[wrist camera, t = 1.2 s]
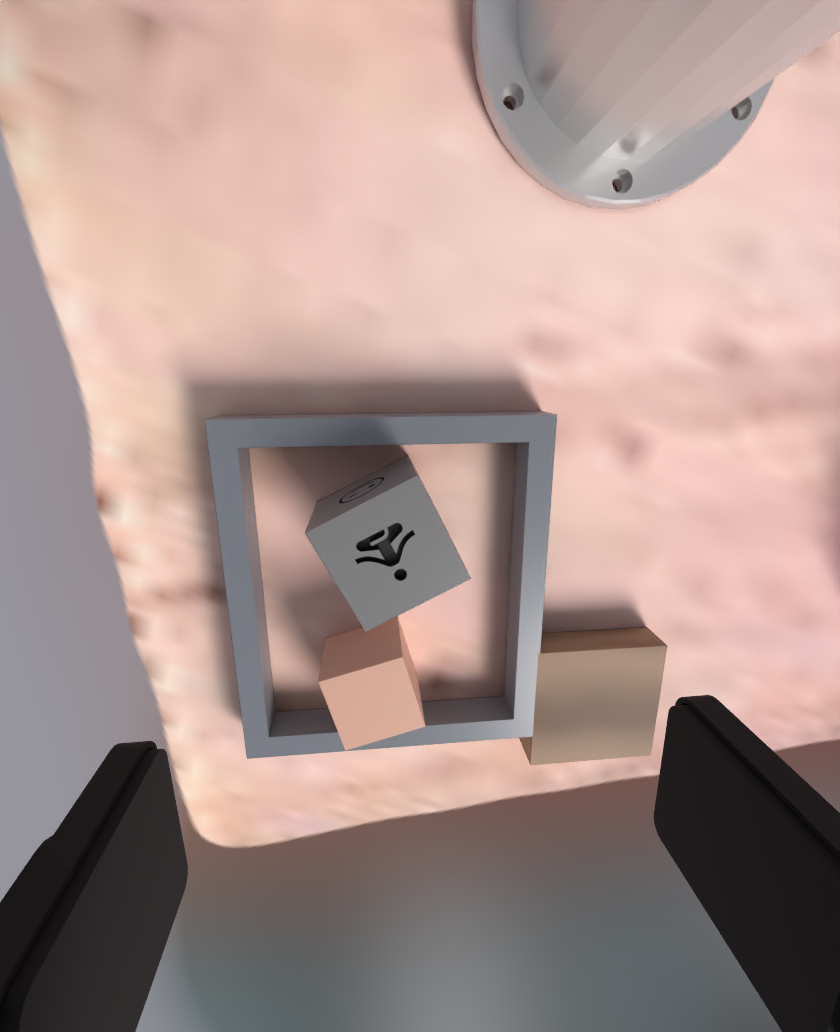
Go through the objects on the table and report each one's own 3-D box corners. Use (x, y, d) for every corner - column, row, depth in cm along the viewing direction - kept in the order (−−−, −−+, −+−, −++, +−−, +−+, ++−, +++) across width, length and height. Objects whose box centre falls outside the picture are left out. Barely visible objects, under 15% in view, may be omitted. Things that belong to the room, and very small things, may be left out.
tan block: (526, 634, 28) (538, 653, 26) (646, 627, 28) (667, 645, 26) (520, 739, 30) (530, 765, 28) (632, 730, 30) (650, 755, 28)
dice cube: (407, 454, 24) (417, 475, 20) (452, 540, 26) (470, 578, 21) (317, 501, 25) (304, 533, 20) (366, 583, 26) (365, 631, 21)
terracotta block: (325, 637, 27) (318, 682, 23) (397, 615, 27) (402, 657, 23) (348, 698, 28) (345, 750, 24) (417, 677, 28) (425, 726, 24)
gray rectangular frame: (218, 415, 23) (204, 419, 21) (542, 411, 24) (556, 414, 22) (255, 731, 28) (246, 758, 26) (523, 712, 29) (534, 736, 27)
